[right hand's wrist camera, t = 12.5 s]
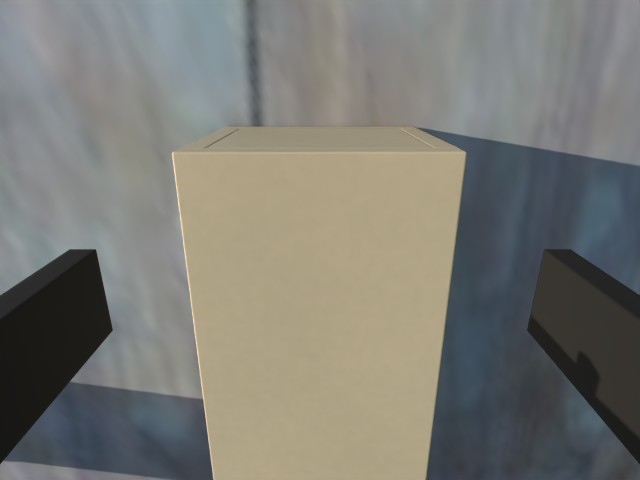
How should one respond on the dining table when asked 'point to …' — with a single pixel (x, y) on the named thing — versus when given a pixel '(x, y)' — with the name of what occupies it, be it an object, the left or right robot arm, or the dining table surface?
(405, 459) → the cabinet
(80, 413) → the dining table surface
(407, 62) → the dining table surface
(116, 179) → the dining table surface
